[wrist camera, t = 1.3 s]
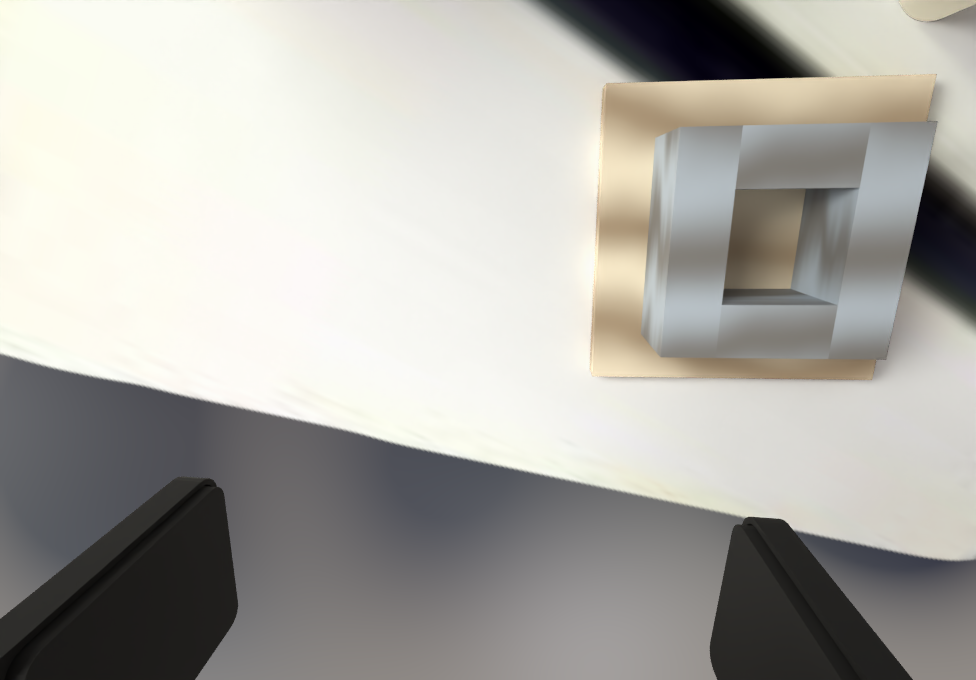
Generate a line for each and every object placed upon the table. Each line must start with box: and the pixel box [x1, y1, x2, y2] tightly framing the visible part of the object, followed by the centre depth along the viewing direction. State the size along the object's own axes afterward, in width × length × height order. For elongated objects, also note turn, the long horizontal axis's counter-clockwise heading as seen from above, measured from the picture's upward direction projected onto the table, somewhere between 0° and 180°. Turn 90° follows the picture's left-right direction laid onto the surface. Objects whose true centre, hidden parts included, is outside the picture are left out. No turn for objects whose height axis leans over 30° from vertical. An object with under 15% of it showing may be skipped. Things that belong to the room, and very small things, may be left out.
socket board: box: [590, 74, 937, 380], centre depth 29 cm, size 18×18×6 cm
